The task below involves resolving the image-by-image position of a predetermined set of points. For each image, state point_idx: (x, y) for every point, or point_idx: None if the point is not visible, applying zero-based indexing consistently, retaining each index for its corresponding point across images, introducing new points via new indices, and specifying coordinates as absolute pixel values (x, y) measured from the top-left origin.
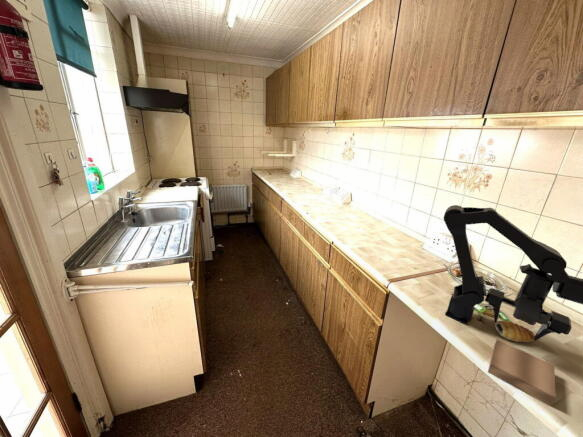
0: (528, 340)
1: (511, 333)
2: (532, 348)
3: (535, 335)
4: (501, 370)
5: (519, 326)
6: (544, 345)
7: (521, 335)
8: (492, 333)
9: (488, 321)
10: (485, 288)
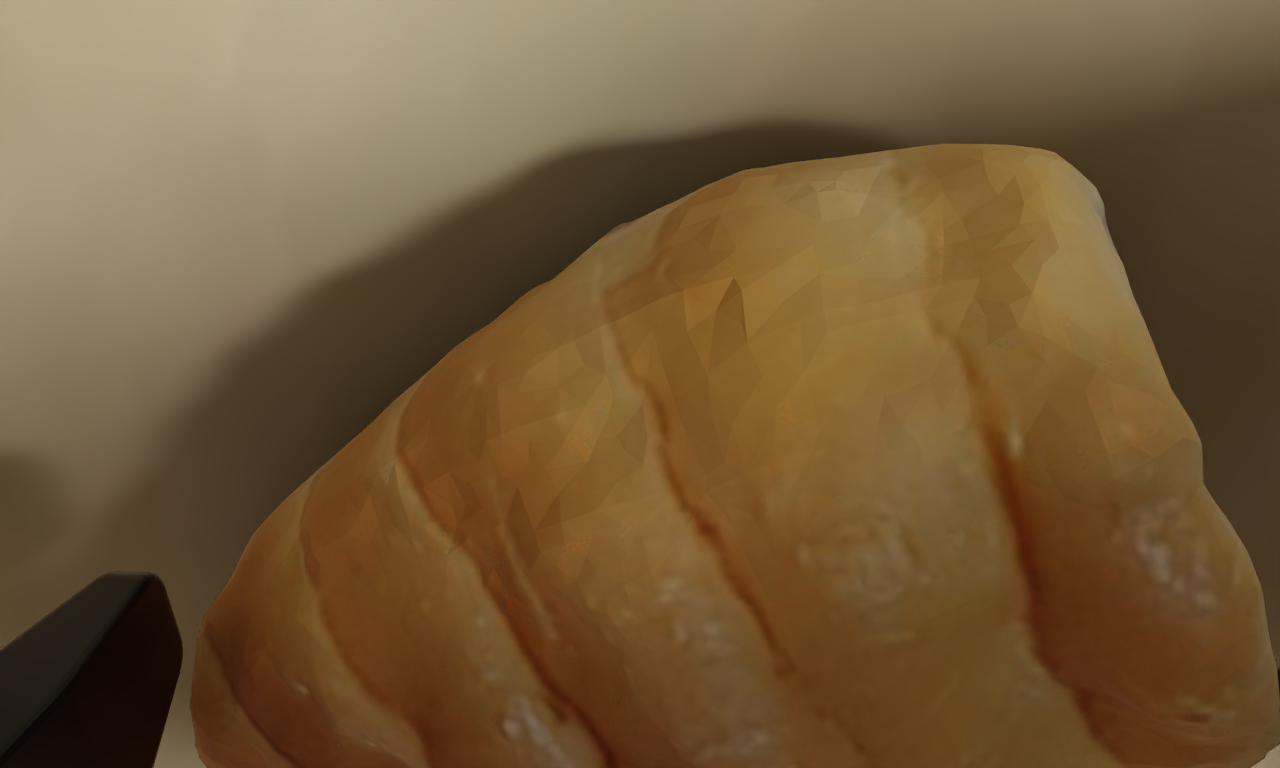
0: (300, 494)
1: (833, 359)
2: (181, 313)
3: (121, 761)
4: None
5: None
6: None
7: (496, 497)
8: (1266, 169)
9: None
10: None
